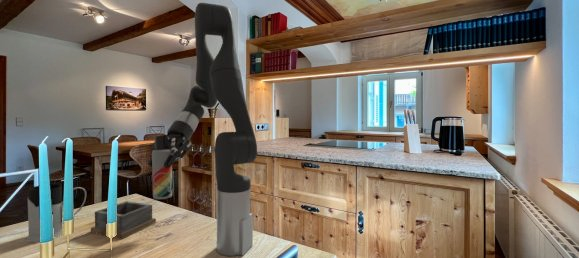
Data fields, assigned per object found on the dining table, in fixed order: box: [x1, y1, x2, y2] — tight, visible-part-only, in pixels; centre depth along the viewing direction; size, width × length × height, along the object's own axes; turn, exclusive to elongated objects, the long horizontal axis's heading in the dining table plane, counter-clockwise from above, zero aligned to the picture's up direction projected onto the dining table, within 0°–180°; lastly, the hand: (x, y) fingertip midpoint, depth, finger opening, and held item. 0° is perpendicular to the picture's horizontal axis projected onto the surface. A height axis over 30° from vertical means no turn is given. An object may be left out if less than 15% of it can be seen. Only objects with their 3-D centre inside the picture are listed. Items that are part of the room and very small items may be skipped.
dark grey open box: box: [90, 200, 157, 240], centre depth 88 cm, size 13×13×6 cm
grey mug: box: [26, 183, 87, 243], centre depth 83 cm, size 9×14×15 cm, turn 130°
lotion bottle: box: [151, 134, 173, 200], centre depth 85 cm, size 6×6×20 cm
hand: (158, 166), depth 83 cm, fingers closed on lotion bottle, 5 cm apart
